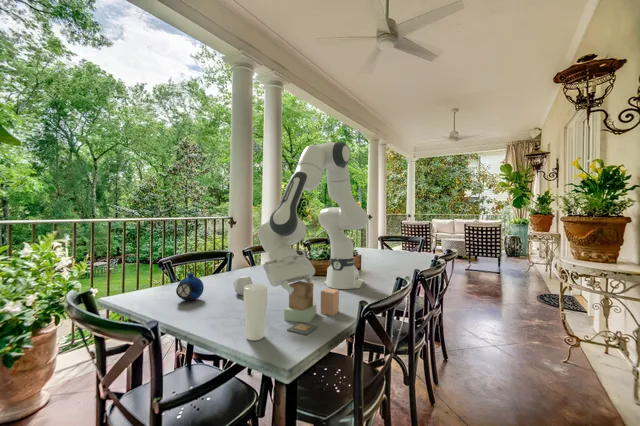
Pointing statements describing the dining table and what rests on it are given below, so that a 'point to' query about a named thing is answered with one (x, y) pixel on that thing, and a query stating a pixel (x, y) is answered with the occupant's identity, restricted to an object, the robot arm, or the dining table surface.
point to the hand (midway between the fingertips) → (302, 290)
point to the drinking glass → (255, 310)
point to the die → (241, 284)
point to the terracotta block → (329, 301)
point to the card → (302, 328)
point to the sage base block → (300, 314)
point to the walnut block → (301, 295)
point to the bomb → (190, 288)
